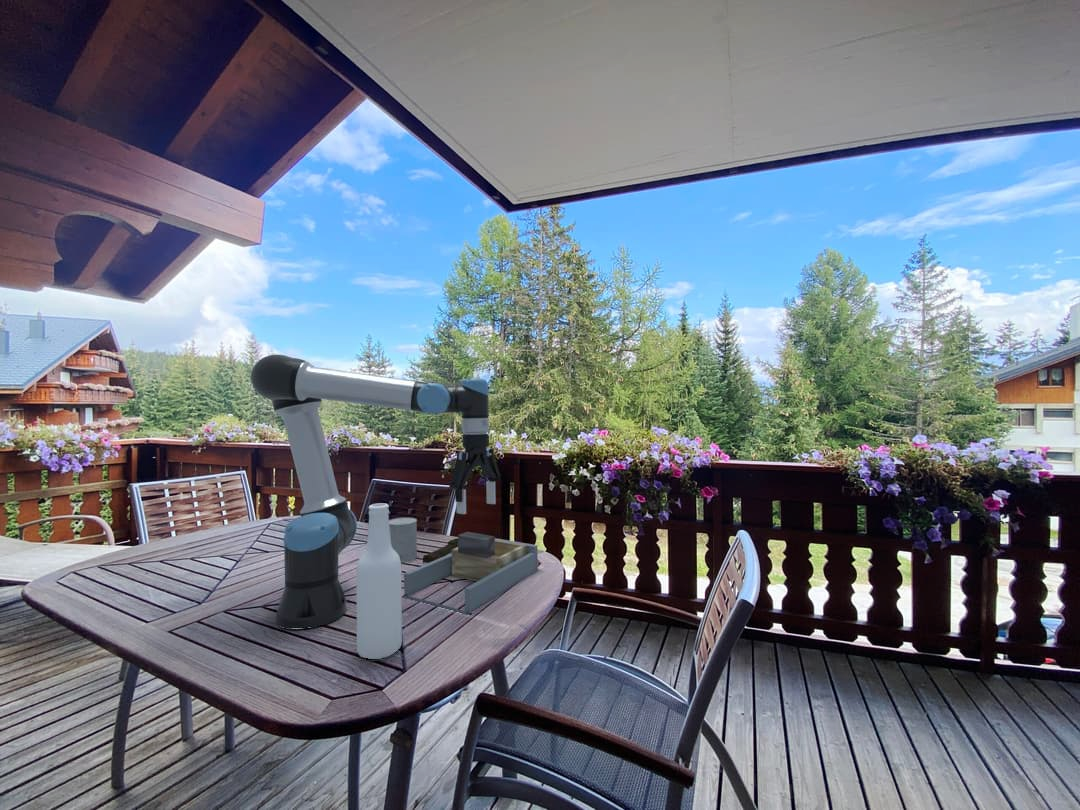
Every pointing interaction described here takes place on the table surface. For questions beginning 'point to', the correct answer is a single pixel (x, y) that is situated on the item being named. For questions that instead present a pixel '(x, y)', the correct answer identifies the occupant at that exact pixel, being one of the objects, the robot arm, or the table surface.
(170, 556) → the table surface
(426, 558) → the hand tool
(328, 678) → the table surface
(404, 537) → the grey cylindrical piece
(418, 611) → the table surface
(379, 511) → the alcohol
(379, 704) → the table surface
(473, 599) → the bay
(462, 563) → the crate
